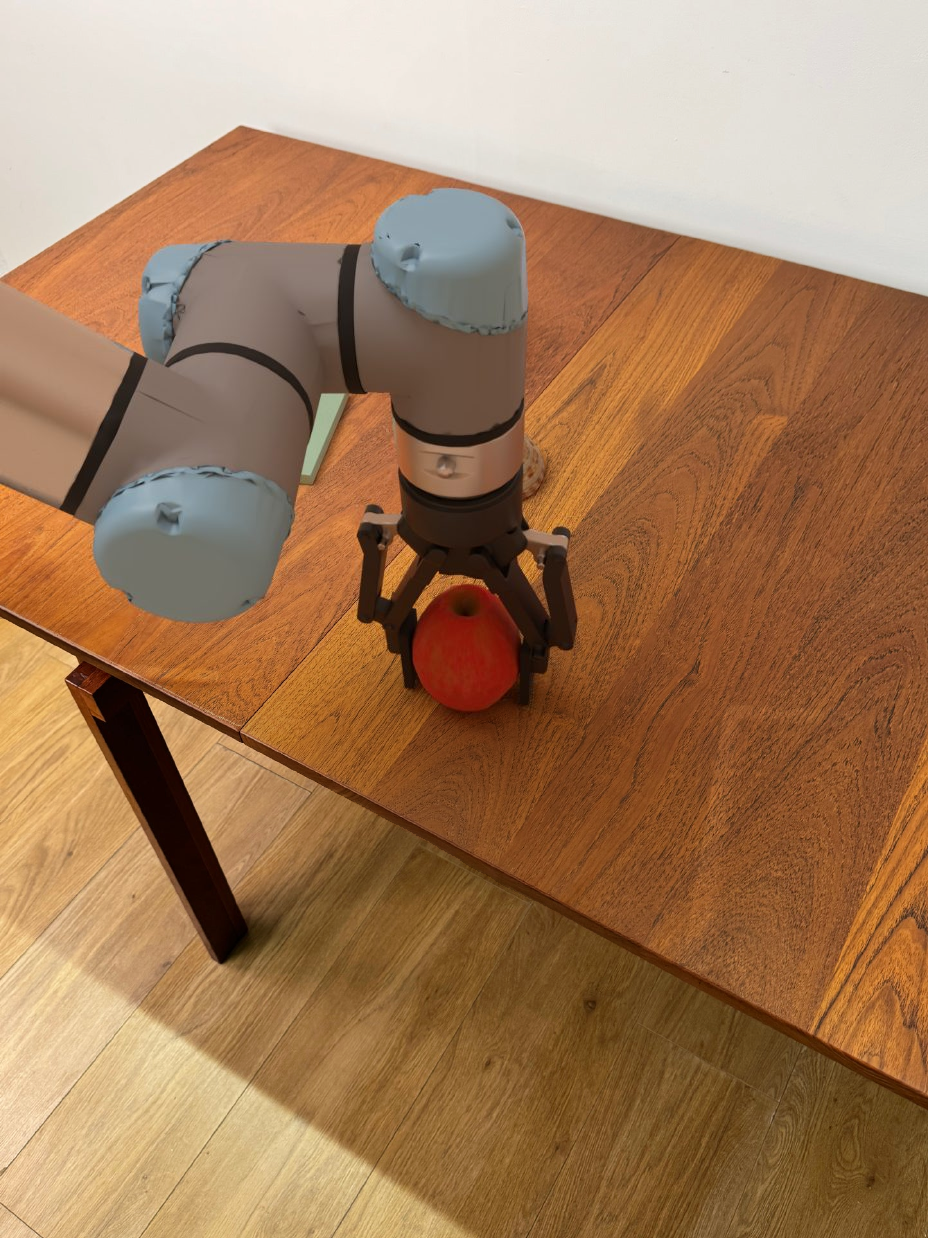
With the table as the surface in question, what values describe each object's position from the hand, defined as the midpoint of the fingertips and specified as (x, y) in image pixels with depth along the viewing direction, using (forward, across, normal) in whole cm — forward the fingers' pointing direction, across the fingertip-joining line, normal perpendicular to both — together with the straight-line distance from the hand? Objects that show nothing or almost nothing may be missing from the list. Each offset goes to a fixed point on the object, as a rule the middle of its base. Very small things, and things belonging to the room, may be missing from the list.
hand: (469, 682), depth 77 cm
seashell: (0, -2, +24) cm, 24 cm away
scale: (0, -26, +26) cm, 37 cm away
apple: (0, 0, 0) cm, 0 cm away
